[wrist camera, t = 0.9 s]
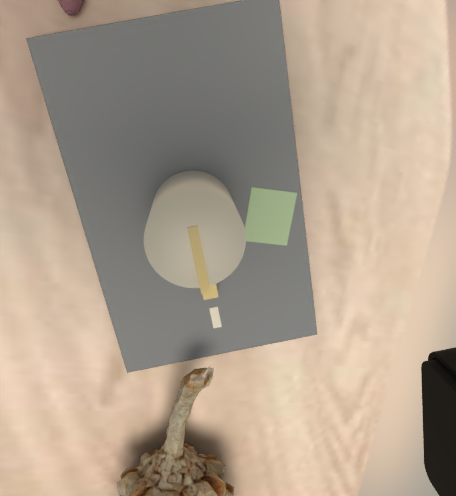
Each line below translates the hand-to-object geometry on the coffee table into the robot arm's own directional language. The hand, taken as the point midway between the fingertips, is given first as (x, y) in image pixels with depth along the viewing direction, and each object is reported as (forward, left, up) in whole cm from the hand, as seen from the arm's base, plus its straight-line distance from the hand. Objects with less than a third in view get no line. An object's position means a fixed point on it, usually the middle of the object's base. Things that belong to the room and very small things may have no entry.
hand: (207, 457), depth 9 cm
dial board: (0, 0, -21) cm, 21 cm away
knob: (+2, 0, -20) cm, 20 cm away
